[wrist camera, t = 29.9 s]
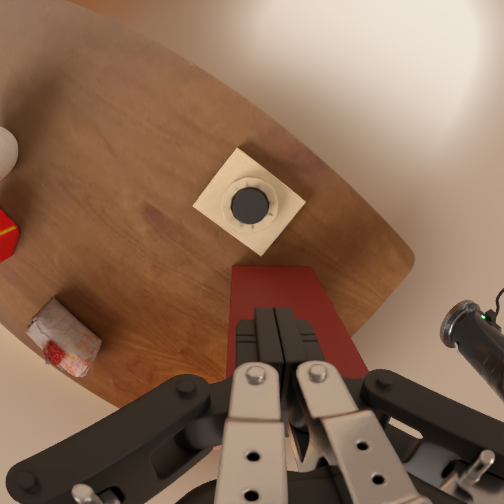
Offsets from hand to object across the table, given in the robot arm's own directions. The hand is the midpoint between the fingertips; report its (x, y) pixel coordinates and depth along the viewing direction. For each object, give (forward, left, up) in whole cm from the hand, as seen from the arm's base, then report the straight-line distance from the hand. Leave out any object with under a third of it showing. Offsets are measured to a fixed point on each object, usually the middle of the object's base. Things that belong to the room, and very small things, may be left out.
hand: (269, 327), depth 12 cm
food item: (+38, +11, -33) cm, 52 cm away
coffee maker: (+2, +18, -33) cm, 38 cm away
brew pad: (0, 0, -33) cm, 33 cm away
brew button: (0, 0, -30) cm, 30 cm away
